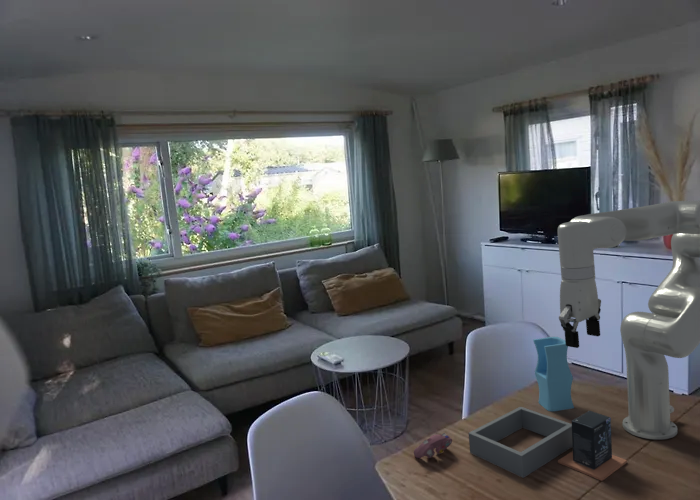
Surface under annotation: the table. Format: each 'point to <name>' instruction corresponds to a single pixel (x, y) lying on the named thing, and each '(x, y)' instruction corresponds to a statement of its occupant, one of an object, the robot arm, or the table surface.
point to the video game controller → (433, 446)
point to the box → (591, 439)
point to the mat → (600, 471)
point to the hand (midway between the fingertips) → (583, 340)
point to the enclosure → (530, 458)
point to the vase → (553, 374)
